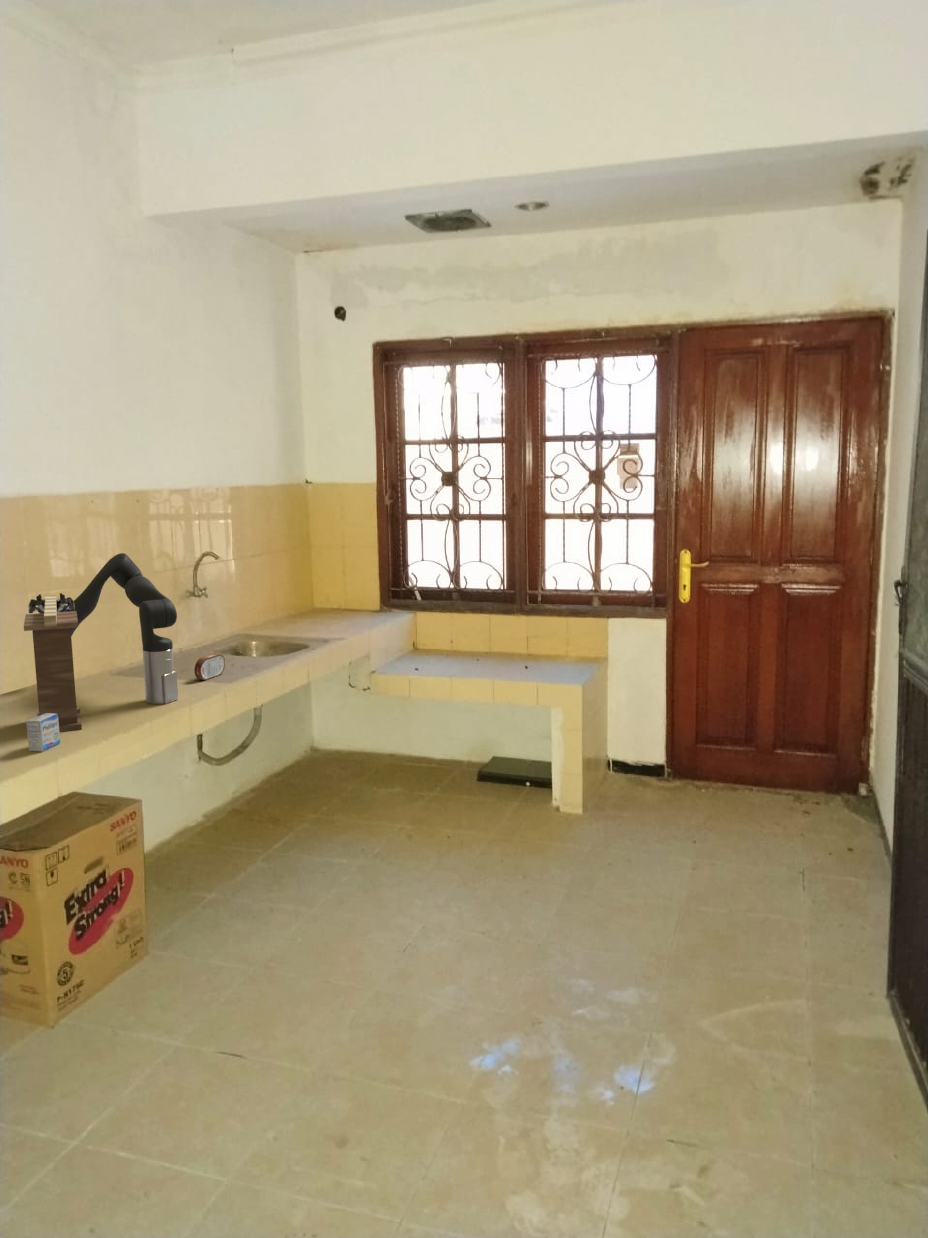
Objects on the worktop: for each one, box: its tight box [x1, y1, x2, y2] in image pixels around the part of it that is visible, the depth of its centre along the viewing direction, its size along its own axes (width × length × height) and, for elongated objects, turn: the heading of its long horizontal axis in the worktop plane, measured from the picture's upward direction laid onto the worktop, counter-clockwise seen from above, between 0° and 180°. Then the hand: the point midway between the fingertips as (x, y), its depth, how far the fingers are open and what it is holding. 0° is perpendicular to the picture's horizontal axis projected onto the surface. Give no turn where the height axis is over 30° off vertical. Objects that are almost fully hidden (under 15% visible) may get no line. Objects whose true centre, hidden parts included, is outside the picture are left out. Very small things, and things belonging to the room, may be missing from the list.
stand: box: [23, 611, 83, 733], centre depth 268 cm, size 20×14×32 cm
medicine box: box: [25, 713, 61, 753], centre depth 248 cm, size 8×4×9 cm, turn 170°
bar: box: [44, 594, 57, 627], centre depth 271 cm, size 40×3×3 cm, turn 24°
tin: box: [194, 652, 226, 681], centre depth 327 cm, size 15×3×8 cm, turn 159°
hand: (50, 596), depth 282 cm, fingers open, 5 cm apart
